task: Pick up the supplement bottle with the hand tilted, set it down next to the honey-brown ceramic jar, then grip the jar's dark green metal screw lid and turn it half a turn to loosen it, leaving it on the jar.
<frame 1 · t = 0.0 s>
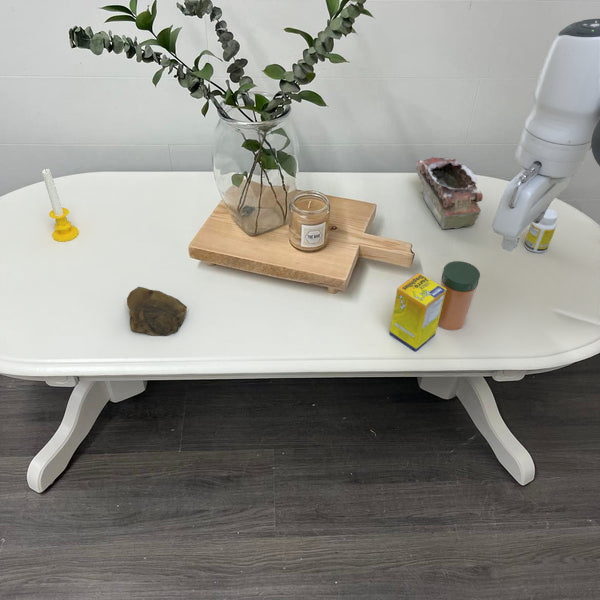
hand: (522, 233, 86), 22 cm above the table, tool pointing down, fingers open, 8 cm apart
decorative stone: (157, 318, 102), on the table
lid: (461, 274, 97), point 10 cm above the table, screwed on, not yet turned
decorative box: (435, 208, 131), on the table
supplement bottle: (535, 247, 120), on the table
candle: (66, 235, 120), on the table
supplement box: (411, 335, 100), on the table
jar: (448, 318, 104), on the table
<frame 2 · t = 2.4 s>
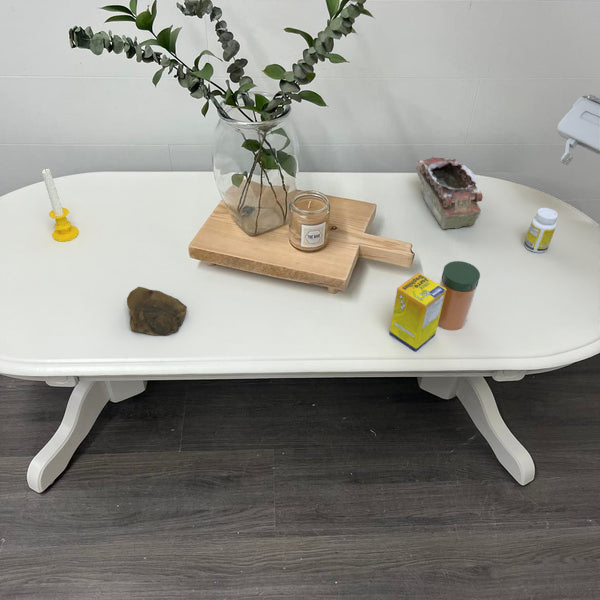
hand: (584, 173, 113), 15 cm above the table, tool tilted 40°, fingers open, 8 cm apart
nothing on the table moved.
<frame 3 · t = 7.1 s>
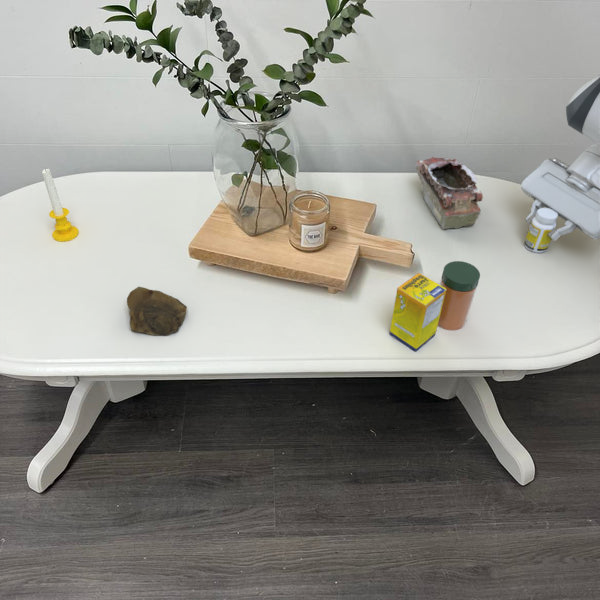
hand: (539, 230, 117), 4 cm above the table, tool tilted 45°, fingers closed on supplement bottle, 5 cm apart
supplement bottle: (535, 247, 120), on the table, touching gripper
everything else where it was.
when the fingers open (4 cm above the table, at t = 16.3 s): supplement bottle stays where it is, on the table.
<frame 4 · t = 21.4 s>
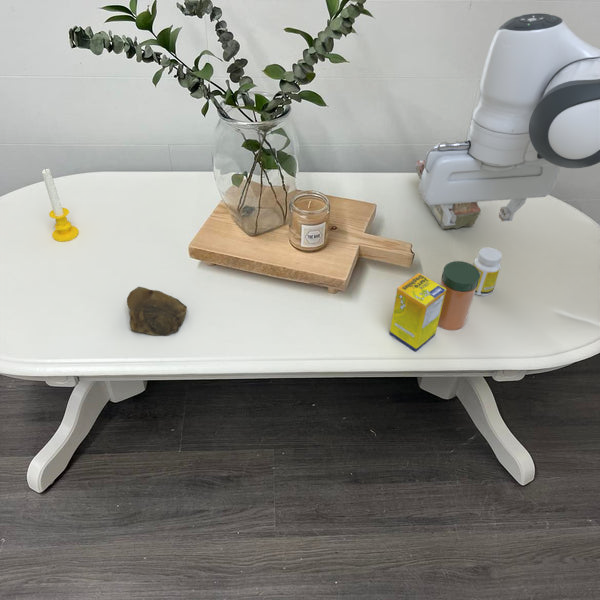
hand: (476, 221, 90), 21 cm above the table, tool pointing down, fingers open, 8 cm apart
supplement bottle: (479, 289, 110), on the table
everything else where it was.
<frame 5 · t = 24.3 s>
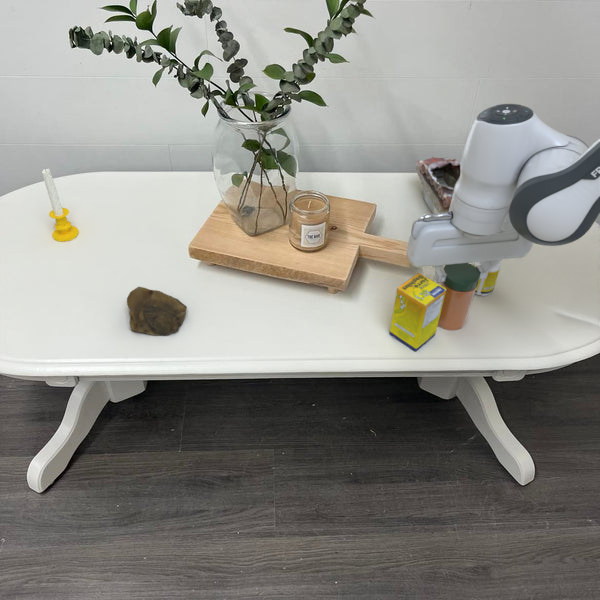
hand: (460, 278, 97), 9 cm above the table, tool pointing down, fingers closed on lid, 6 cm apart
lid: (461, 274, 97), point 10 cm above the table, screwed on, not yet turned, touching gripper
everything else where it was.
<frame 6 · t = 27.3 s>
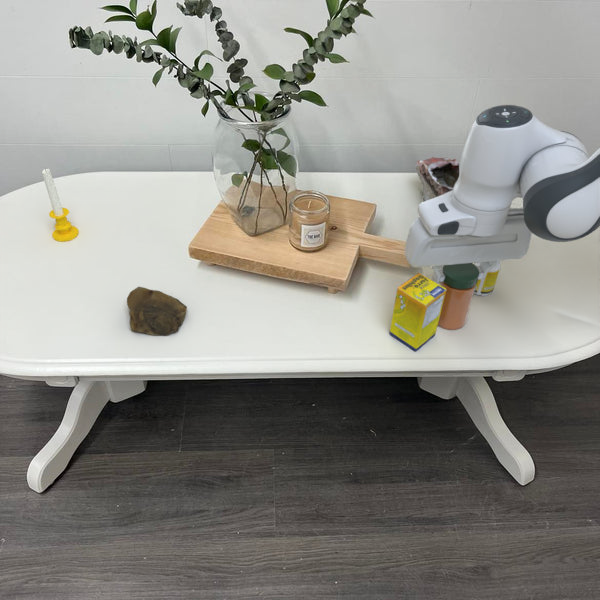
hand: (458, 279, 98), 9 cm above the table, tool pointing down, fingers closed on lid, 6 cm apart
lid: (460, 271, 97), point 11 cm above the table, turned 180° so far, risen 0.2 cm, still on its thread, touching gripper
jar: (449, 318, 104), on the table, touching gripper
everything else where it was.
when the fingers open (8 cm above the table, at t = 28.3 s): lid stays where it is, point 11 cm above the table.
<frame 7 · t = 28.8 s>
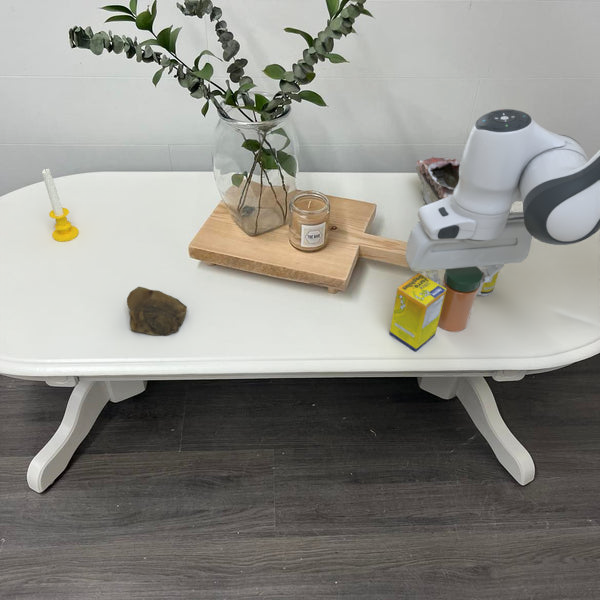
hand: (458, 282, 98), 9 cm above the table, tool pointing down, fingers open, 8 cm apart
lid: (463, 274, 96), point 11 cm above the table, turned 180° so far, risen 0.2 cm, still on its thread
jar: (450, 319, 103), on the table
everything else where it was.
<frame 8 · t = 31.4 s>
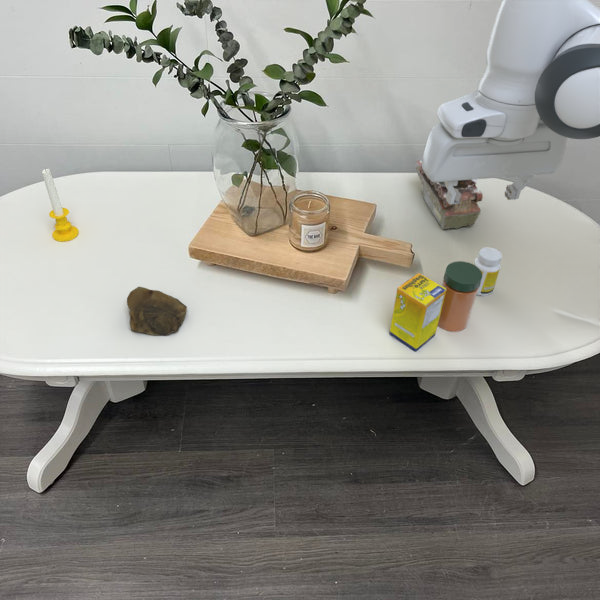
hand: (481, 200, 87), 25 cm above the table, tool pointing down, fingers open, 8 cm apart
nothing on the table moved.
at the end: supplement bottle inside the target area (0.1 cm from its centre), on the table; lid turned 0.50 turns (still on its thread); lid is still on its thread (0.50 turns) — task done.
